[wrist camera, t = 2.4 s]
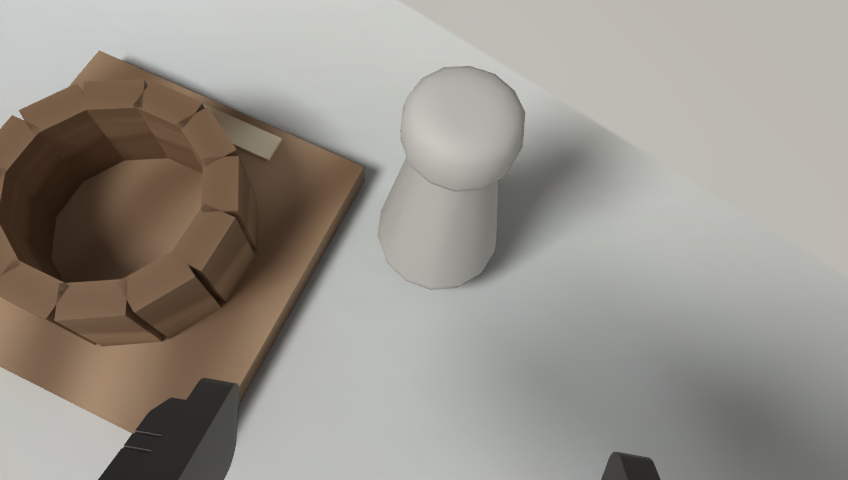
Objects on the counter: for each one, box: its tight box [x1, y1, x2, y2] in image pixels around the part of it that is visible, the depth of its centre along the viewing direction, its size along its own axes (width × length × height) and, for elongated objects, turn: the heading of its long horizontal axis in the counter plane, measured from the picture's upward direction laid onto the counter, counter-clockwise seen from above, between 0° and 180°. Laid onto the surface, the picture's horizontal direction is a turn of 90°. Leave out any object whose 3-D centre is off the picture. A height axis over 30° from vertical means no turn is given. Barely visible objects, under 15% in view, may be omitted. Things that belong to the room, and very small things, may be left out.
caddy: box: [0, 51, 364, 433], centre depth 29 cm, size 16×16×6 cm
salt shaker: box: [378, 66, 525, 290], centre depth 26 cm, size 6×6×13 cm
